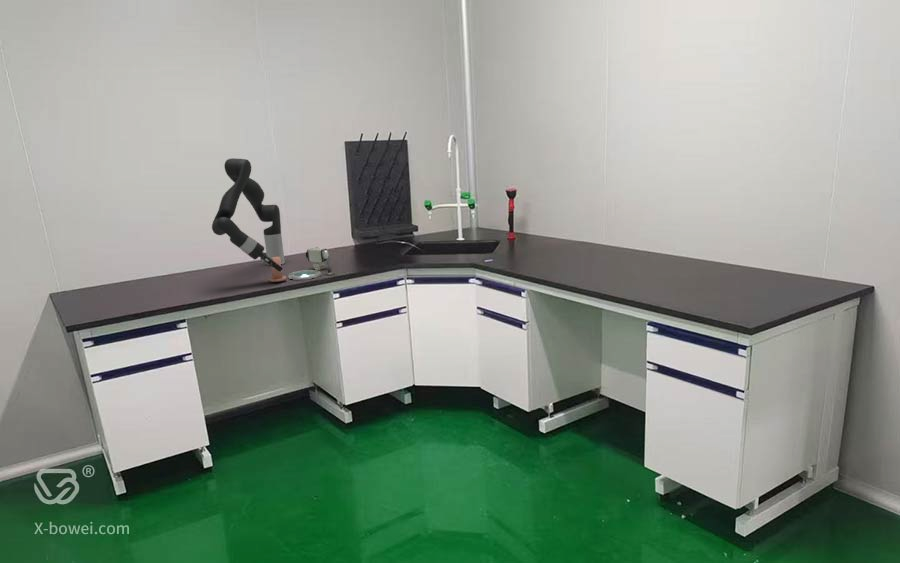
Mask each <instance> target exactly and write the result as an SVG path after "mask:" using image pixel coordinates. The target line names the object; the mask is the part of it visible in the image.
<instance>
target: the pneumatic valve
mask: <svg viewBox="0 0 900 563" xmlns="http://www.w3.org/2000/svg"><path fill="white" fill-rule="evenodd" d="M323 250H327V251H328V249H327V248H321V247H320V248H318V247H317V246H316V247H313V248H309V249H307V250H306V252H305V257H306V259H307V260H308V262H314V263H313V265H312V267H313V270H314V269H315V270H318V271H321V270H323V269H324V268H325V264H324V262H327V259H324V258H323V256H322V251H323Z"/></svg>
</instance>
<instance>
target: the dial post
mask: <svg viewBox="0 0 900 563" xmlns="http://www.w3.org/2000/svg"><path fill="white" fill-rule="evenodd" d="M330 253H331V252H330V250H328V249H327V250H323V251H322V256H323V258H324V259H327V261H326V266H327V267H326V268H327V271H326V272H325V273H324V274H326V275H325V276H332V275H331V274H333V275H335V272H334V271H332V265H331V254H330Z"/></svg>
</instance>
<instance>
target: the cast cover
mask: <svg viewBox="0 0 900 563" xmlns="http://www.w3.org/2000/svg"><path fill="white" fill-rule="evenodd" d="M271 258H272V259H273V261H274V262H276V263H277V264H278V265H279V266H281V267H282V265H281V259H280V257H271ZM272 264H273V262H272V263H271V265H272ZM270 268H271V276H270V277H269V278H268V281H269V282H273V283H276V282H283V281H285V280H287V276H286V275H283V269H282V270H281V271H278V270H277V269H275V268H274V267H272V266H270Z"/></svg>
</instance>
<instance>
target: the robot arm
mask: <svg viewBox="0 0 900 563" xmlns="http://www.w3.org/2000/svg"><path fill="white" fill-rule="evenodd" d="M224 170H225V173H226V175H227V177H228V178H229V179H230V180H231V181H233V185H231V187H230V188H229V189H228V190H227V191H226V192H225V193H224V194H223V195H222V197H221V200H220V203H219V208H218V210H217V211H216V212H217V213H216V215H215V216H214V219H213V221H212V224H211V230H212V231H213V233H214V234H216V235H217V236H223V235H225V234H226V235H227V236H228V237H229V241H230V242H231V243H232V244H233V245H235V246H236V247H237V248H239V250H241V251H242V252H243V253H245V254H246V255H247V256H249V257H250V258H252V259H253V260H257V259H258V258H260V259H259V260H260V261H262V262H264V263H265V264H266V265H267V266H269V265H270V267H271V266H272V267H274V268H275V269H277V270H278V271H281V270H282V271H283V266H282V265H285V264H284V263H286V262H285V254H284V244H283V237H282V223H281V212H280V207H279V206H278V205H277V204H264V203H263V202H264V200H265V199H264V198H265V192H264V190H263V187H261V185H260V184H259V183H258V182H257V181H256V180H255V179H252V178H251V177H250V176H251V173H252V164H251V162H250V161H249V159H245V158H235V157H234V158H228V159H226V160H225V162H224ZM242 194H243V195H244V197H245V198H246V200H247V201H248V203H250V205H251V207H252V208H253V209H254V211H255V214H256V216H257V217H258V219H259V220H260V221H261V222H263V223H272V224H271V225H270V226H268V227H266V228H264V229H263V238H264V245H265V247H264V245H262V244H261V243H259V242H258V241H256V239H254V238H252V237H250V236H249V235H247V233H246V232H244V231H242V230H241V229H240V228H239V226H238V225H237V224H236V223H235V222H234V221H233V220H232V219H231V218H232V217H233V216H234V215H235V212H236V209H237V206H238V203H239V199H240V197H241V195H242ZM264 251H265V252H264ZM271 257H280V259H281V264H282V265H281V266H279V265H278V264H277V263H276V262H274V261H273V259H272V258H271ZM272 262H273V264H272V265H271V263H272Z"/></svg>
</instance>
